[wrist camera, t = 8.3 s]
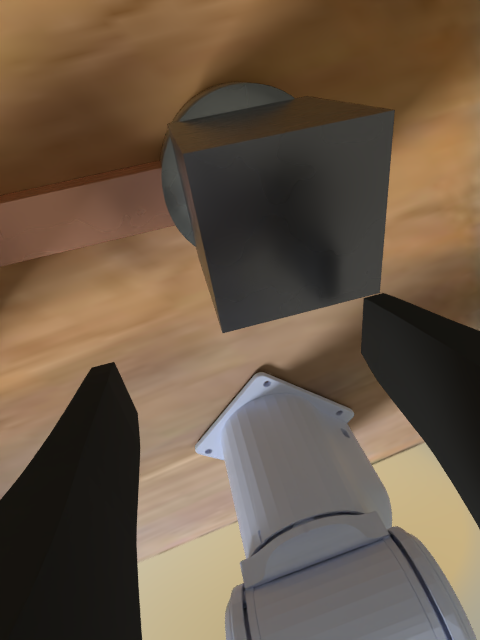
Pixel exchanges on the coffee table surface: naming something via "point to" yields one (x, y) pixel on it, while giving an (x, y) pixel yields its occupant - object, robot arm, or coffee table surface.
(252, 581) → the robot arm
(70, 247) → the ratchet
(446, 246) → the coffee table surface
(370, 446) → the coffee table surface
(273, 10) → the coffee table surface
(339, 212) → the socket
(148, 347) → the coffee table surface
